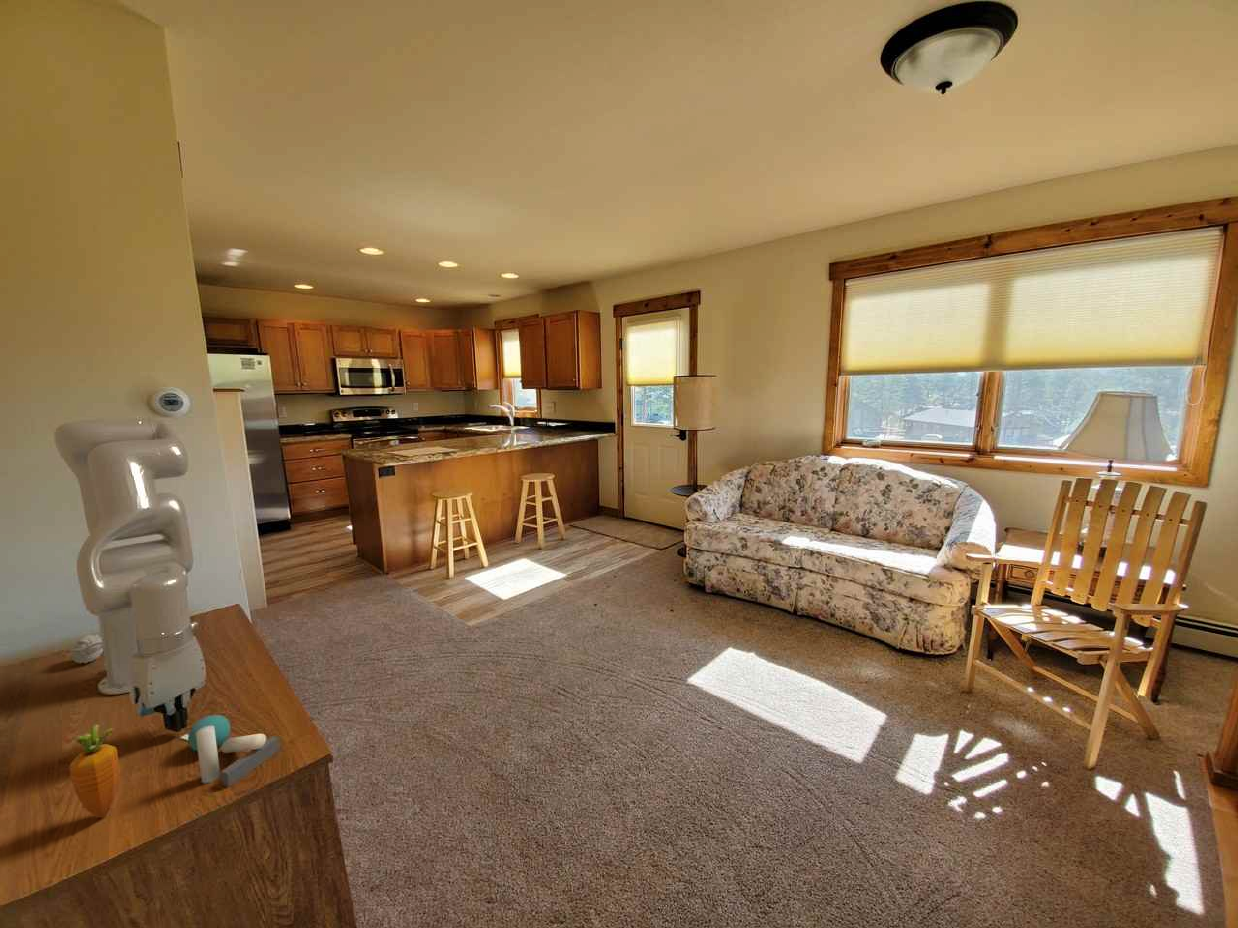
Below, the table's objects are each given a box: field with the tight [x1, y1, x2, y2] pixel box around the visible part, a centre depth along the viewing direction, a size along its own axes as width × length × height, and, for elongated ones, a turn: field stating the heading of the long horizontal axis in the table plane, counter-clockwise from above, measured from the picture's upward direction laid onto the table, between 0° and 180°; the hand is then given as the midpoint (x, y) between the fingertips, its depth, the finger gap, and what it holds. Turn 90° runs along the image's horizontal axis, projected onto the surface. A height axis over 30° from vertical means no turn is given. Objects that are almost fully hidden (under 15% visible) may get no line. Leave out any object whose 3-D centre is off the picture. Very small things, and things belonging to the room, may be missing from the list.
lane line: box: [179, 733, 189, 742], centre depth 91 cm, size 9×1×1 cm, turn 73°
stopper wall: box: [220, 735, 281, 788], centre depth 85 cm, size 2×9×2 cm, turn 163°
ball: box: [187, 714, 231, 752], centre depth 89 cm, size 6×6×6 cm
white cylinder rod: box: [196, 726, 221, 784], centre depth 82 cm, size 2×2×9 cm
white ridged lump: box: [68, 634, 104, 664], centre depth 117 cm, size 6×7×7 cm
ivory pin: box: [220, 733, 267, 754], centre depth 87 cm, size 2×2×9 cm
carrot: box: [69, 724, 120, 819], centre depth 74 cm, size 5×5×15 cm
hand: (177, 727), depth 93 cm, fingers closed
